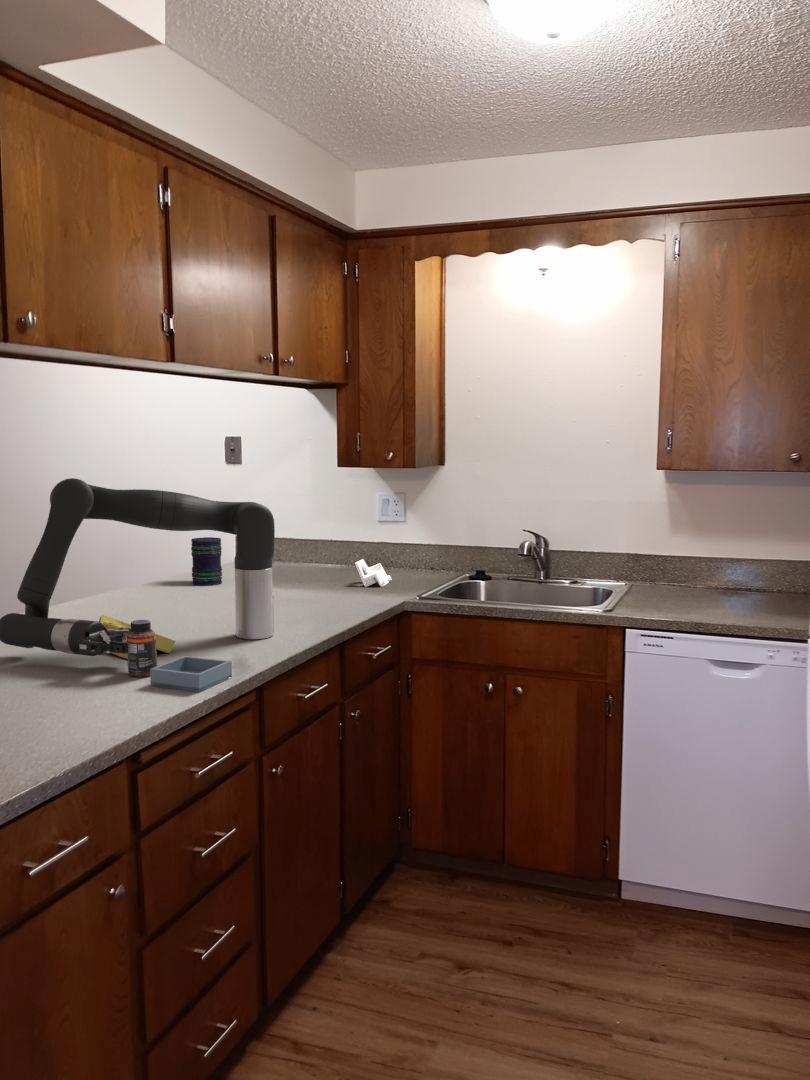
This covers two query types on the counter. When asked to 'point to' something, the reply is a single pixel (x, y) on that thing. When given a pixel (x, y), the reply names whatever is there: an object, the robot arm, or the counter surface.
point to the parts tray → (190, 673)
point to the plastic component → (110, 623)
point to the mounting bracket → (372, 574)
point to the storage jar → (206, 561)
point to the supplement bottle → (141, 649)
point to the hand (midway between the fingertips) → (140, 643)
